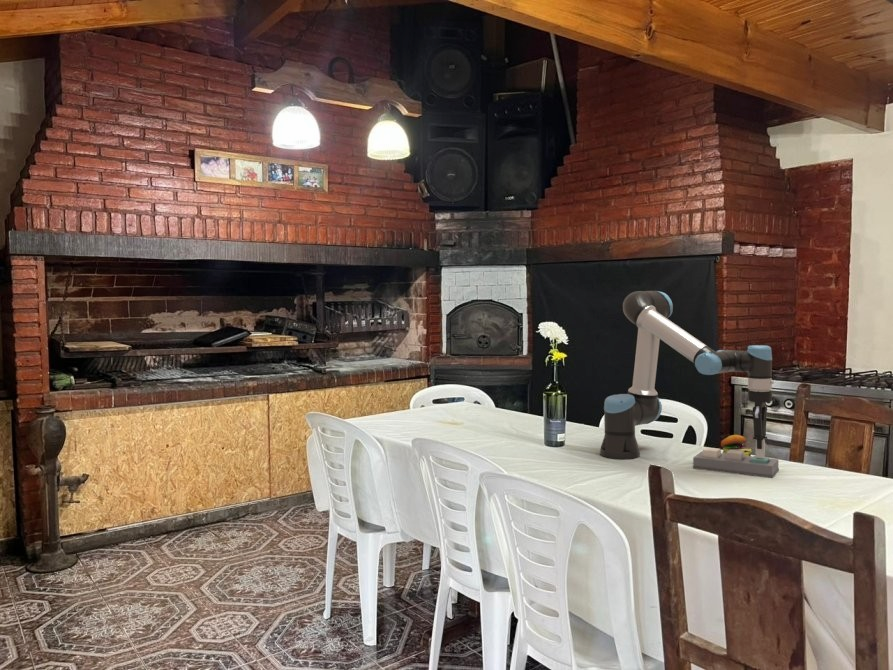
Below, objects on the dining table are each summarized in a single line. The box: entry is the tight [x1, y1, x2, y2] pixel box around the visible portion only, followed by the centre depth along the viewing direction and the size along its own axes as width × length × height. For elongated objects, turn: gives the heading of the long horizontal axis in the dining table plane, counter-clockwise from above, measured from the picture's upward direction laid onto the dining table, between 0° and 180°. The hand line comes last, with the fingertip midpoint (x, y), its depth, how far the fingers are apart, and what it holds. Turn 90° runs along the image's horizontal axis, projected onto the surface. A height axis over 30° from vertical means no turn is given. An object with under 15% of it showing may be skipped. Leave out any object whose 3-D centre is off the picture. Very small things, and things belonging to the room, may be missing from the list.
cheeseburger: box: [720, 434, 753, 456], centre depth 252 cm, size 10×11×10 cm
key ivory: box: [702, 446, 722, 458], centre depth 239 cm, size 5×5×4 cm
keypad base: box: [692, 450, 780, 479], centre depth 234 cm, size 26×12×4 cm, turn 54°
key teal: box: [751, 455, 770, 464], centre depth 230 cm, size 5×5×4 cm
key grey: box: [726, 450, 744, 461], centre depth 234 cm, size 5×5×4 cm
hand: (760, 457), depth 229 cm, fingers closed
